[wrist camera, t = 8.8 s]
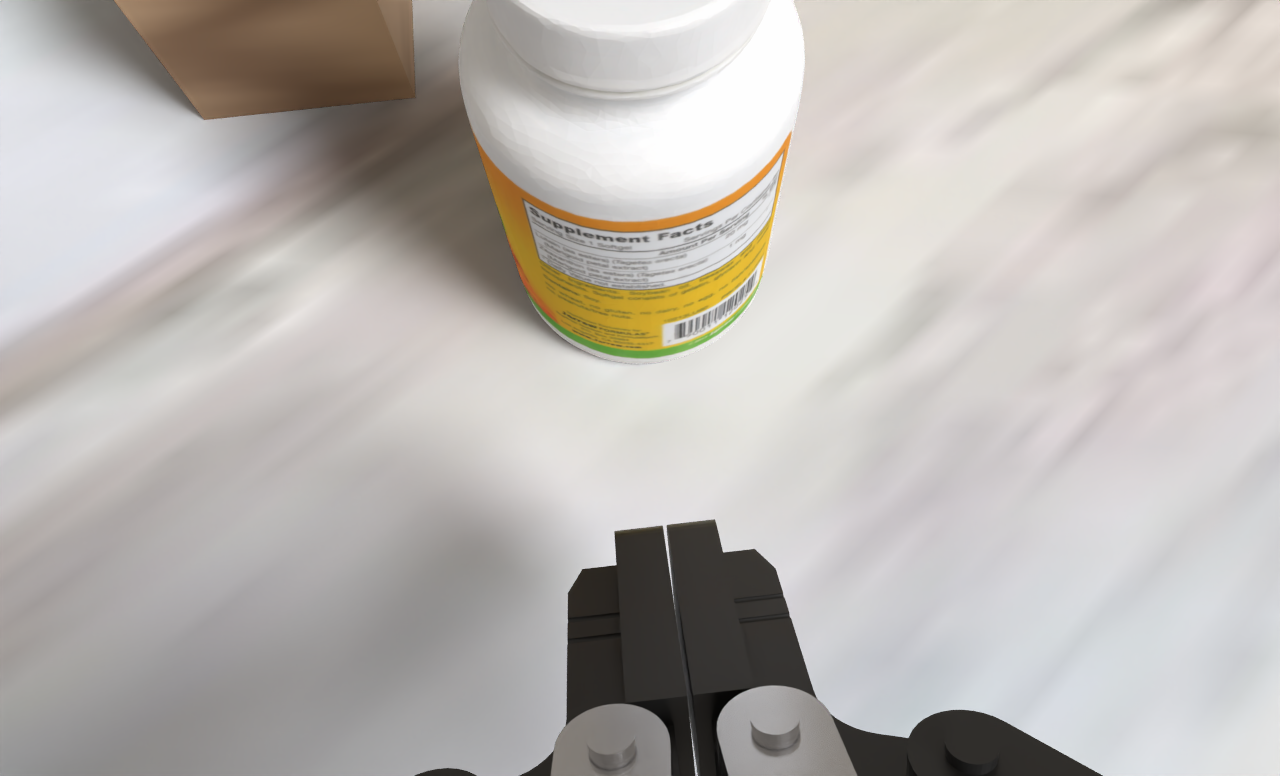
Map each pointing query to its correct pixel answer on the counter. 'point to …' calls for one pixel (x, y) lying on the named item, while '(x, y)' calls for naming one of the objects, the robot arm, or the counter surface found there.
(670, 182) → the supplement bottle
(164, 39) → the walnut two pip block
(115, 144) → the counter surface
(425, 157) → the counter surface
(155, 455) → the counter surface
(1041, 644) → the counter surface
